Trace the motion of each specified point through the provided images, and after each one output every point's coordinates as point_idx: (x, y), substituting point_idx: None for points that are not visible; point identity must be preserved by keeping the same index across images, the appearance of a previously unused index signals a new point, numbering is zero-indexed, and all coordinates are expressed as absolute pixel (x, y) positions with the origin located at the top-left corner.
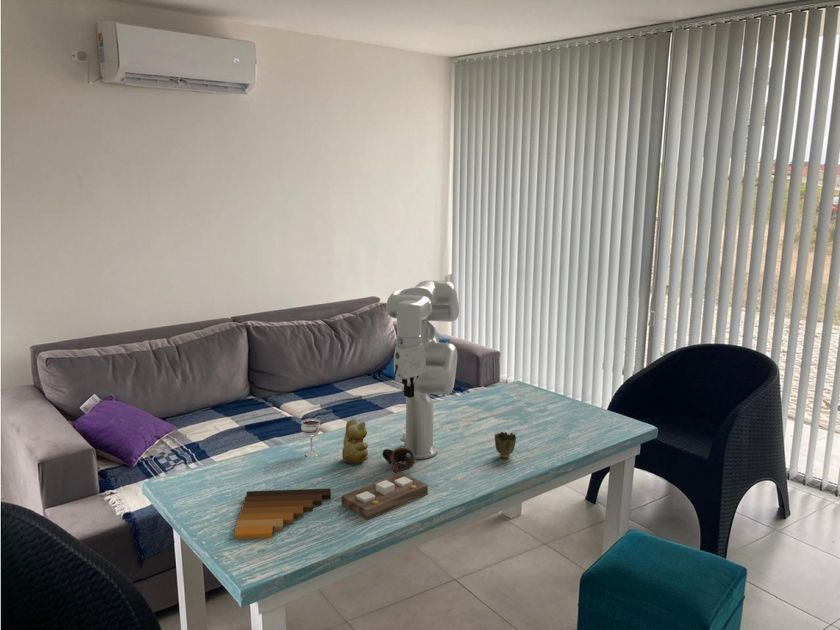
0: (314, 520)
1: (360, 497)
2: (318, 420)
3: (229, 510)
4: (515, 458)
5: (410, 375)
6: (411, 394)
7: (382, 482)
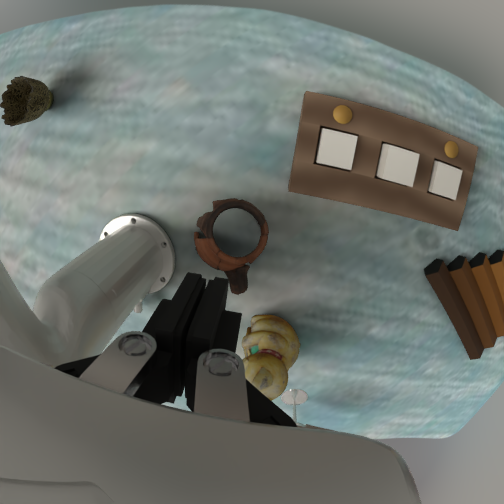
0: (499, 226)
1: (458, 185)
2: None
3: (500, 340)
4: None
5: (249, 456)
6: (214, 288)
7: (398, 177)
